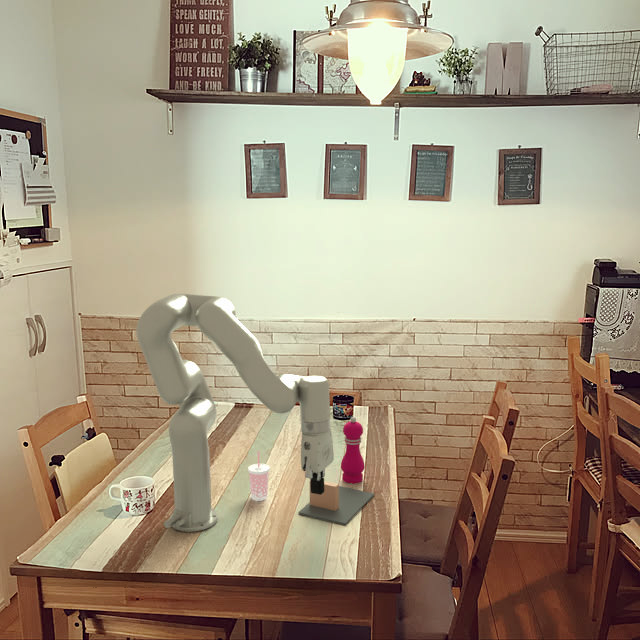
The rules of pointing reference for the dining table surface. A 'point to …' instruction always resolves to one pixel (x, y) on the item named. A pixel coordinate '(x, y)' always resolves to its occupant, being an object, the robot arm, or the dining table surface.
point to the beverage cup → (258, 480)
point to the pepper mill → (352, 453)
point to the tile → (326, 497)
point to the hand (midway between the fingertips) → (317, 492)
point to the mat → (340, 506)
